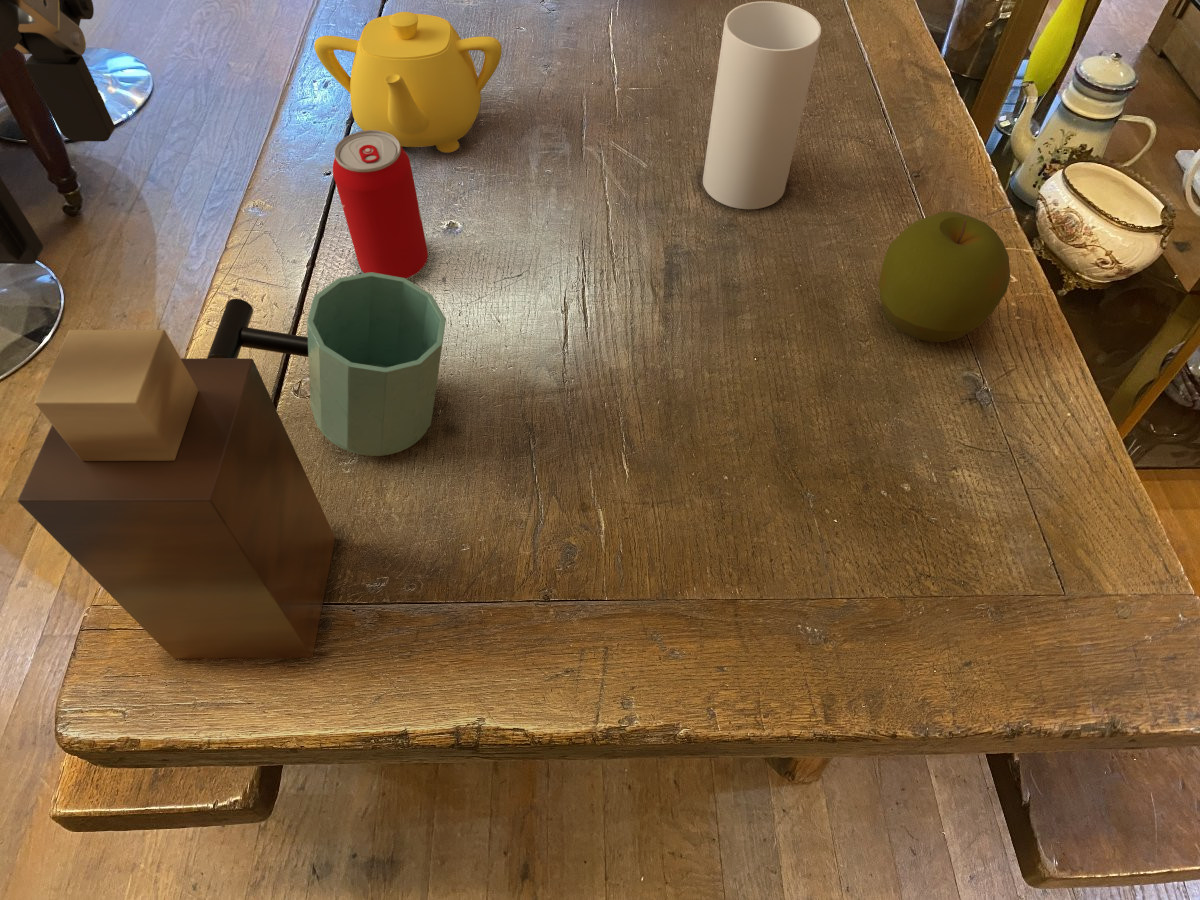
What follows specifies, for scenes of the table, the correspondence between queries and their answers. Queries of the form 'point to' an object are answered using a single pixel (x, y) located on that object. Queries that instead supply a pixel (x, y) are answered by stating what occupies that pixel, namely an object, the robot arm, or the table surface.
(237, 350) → the mug
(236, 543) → the block
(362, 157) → the beverage can
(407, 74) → the teapot
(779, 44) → the cup
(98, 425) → the block
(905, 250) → the apple
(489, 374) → the table surface
